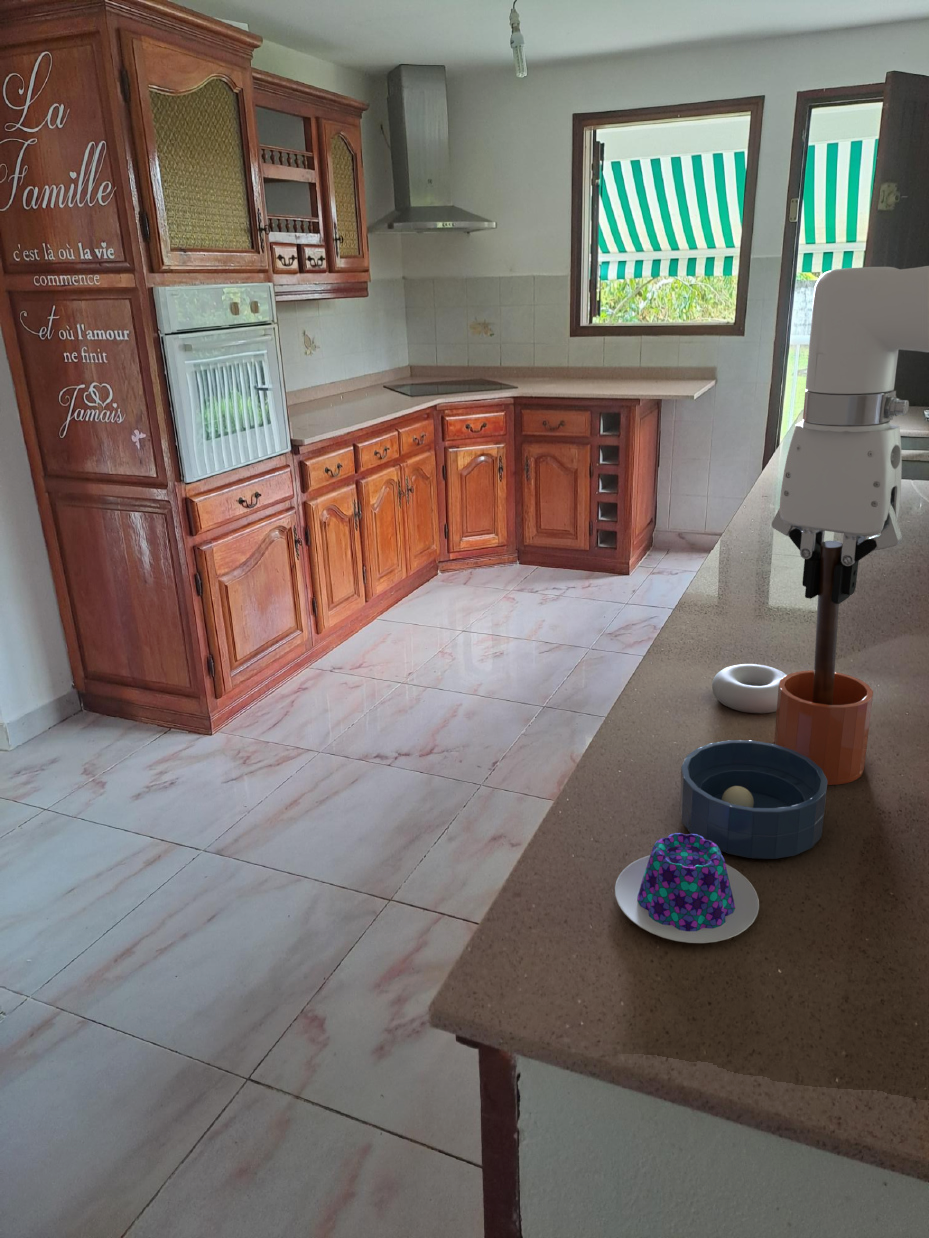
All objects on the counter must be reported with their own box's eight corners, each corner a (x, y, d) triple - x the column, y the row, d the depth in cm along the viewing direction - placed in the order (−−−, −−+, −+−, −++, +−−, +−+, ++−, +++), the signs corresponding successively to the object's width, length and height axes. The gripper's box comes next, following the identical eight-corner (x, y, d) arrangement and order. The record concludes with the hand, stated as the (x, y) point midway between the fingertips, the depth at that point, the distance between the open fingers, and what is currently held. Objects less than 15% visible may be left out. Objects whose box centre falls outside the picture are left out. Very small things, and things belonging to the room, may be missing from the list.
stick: (836, 702, 93) (847, 544, 85) (822, 709, 92) (832, 549, 85) (822, 695, 95) (831, 538, 87) (808, 701, 94) (816, 544, 86)
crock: (876, 758, 96) (886, 683, 93) (843, 794, 90) (852, 715, 87) (794, 734, 102) (801, 663, 99) (758, 766, 96) (763, 691, 93)
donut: (810, 702, 110) (744, 676, 117) (813, 677, 108) (746, 652, 116) (760, 727, 104) (694, 698, 112) (763, 701, 103) (695, 674, 111)
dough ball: (743, 826, 86) (765, 806, 85) (726, 820, 85) (749, 800, 84) (726, 802, 89) (748, 783, 87) (710, 796, 87) (731, 776, 86)
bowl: (843, 816, 86) (849, 767, 84) (785, 882, 77) (789, 829, 75) (720, 773, 95) (722, 727, 93) (654, 828, 86) (655, 779, 84)
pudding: (612, 943, 71) (613, 890, 69) (616, 854, 82) (616, 806, 80) (767, 956, 69) (772, 902, 67) (749, 863, 80) (753, 814, 78)
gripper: (952, 409, 79) (924, 602, 85) (781, 401, 89) (768, 574, 96) (925, 421, 74) (897, 625, 80) (747, 411, 84) (735, 592, 91)
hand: (827, 596), depth 88 cm, fingers closed on stick, 2 cm apart
